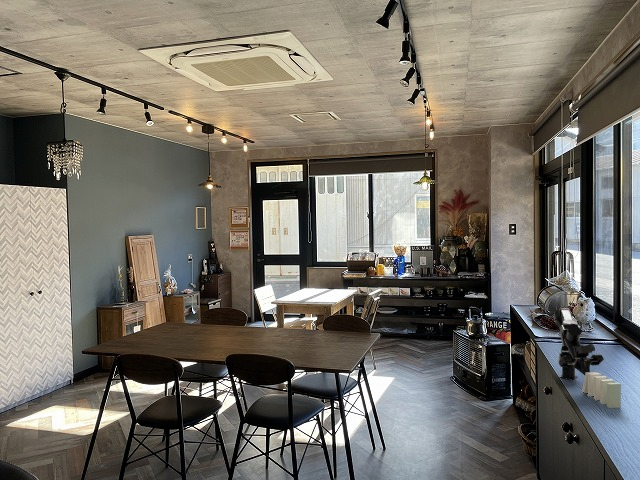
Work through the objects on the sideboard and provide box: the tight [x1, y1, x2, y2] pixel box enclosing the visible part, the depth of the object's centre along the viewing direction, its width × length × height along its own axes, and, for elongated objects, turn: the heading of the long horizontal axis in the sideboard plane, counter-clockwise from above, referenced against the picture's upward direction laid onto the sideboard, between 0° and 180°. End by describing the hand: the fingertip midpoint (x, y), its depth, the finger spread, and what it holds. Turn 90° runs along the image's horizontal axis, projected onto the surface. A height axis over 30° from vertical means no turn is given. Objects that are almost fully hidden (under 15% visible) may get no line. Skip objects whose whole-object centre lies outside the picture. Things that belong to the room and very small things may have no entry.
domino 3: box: [593, 375, 608, 401], centre depth 215 cm, size 2×5×10 cm, turn 95°
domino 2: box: [587, 372, 602, 398], centre depth 219 cm, size 2×5×10 cm, turn 95°
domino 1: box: [581, 371, 598, 394], centre depth 222 cm, size 2×5×10 cm, turn 95°
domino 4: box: [599, 378, 615, 405], centre depth 210 cm, size 2×5×10 cm, turn 95°
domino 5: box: [606, 382, 622, 409], centre depth 206 cm, size 2×5×10 cm, turn 95°
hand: (589, 377), depth 222 cm, fingers closed
